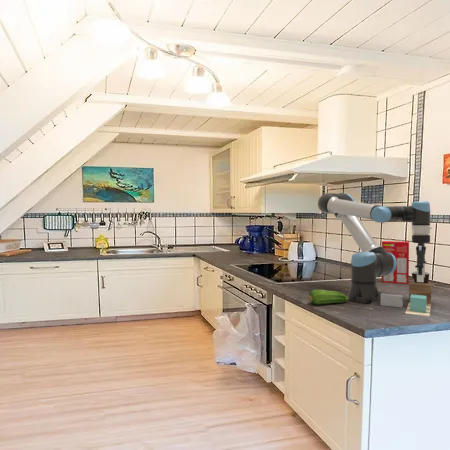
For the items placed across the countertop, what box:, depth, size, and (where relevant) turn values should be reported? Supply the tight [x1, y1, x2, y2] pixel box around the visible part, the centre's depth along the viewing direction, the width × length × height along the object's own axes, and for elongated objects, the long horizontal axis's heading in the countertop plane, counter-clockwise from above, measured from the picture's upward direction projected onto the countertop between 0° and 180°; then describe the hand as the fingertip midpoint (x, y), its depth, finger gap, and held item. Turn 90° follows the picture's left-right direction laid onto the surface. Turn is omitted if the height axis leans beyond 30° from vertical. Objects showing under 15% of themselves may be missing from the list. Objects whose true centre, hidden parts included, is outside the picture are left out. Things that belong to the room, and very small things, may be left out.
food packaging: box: [381, 240, 410, 285], centre depth 219 cm, size 15×5×25 cm, turn 65°
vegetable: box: [308, 289, 349, 306], centre depth 175 cm, size 7×7×20 cm
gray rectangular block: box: [380, 292, 404, 309], centre depth 158 cm, size 20×9×6 cm, turn 149°
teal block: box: [410, 294, 427, 313], centre depth 157 cm, size 6×6×6 cm
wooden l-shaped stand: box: [405, 281, 432, 317], centre depth 161 cm, size 24×9×10 cm, turn 149°
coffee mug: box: [411, 270, 430, 284], centre depth 196 cm, size 12×9×10 cm
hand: (421, 279), depth 169 cm, fingers open, 13 cm apart
